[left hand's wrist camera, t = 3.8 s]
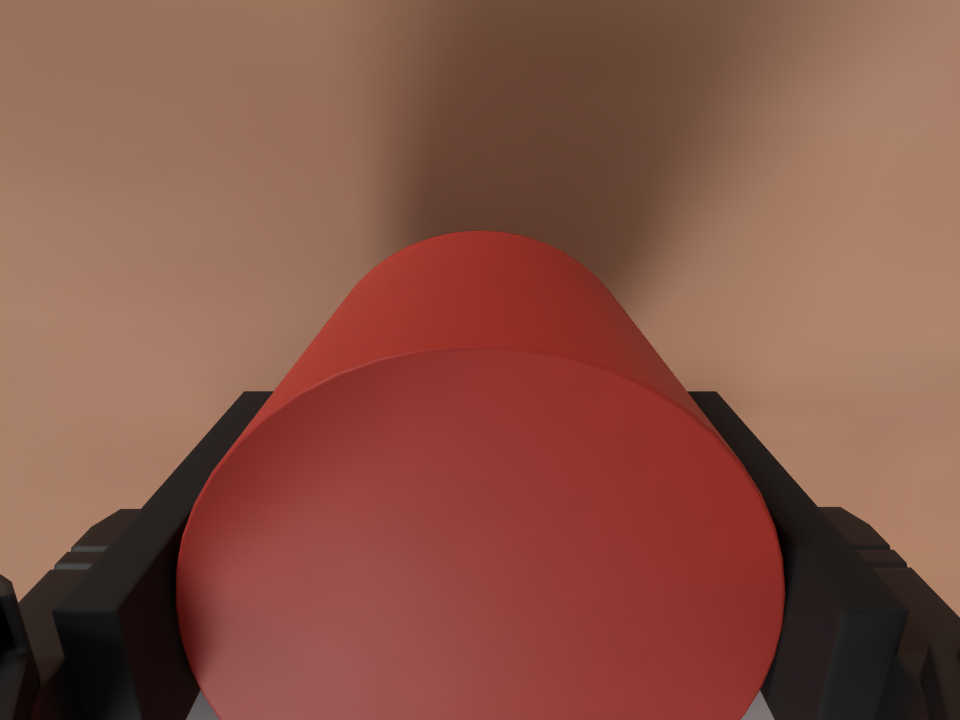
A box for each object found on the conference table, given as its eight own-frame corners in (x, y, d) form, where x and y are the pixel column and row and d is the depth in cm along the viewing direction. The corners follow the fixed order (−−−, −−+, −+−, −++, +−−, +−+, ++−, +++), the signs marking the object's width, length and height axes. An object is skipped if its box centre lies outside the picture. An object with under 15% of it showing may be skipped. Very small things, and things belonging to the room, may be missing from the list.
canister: (561, 562, 19) (622, 890, 11) (283, 470, 18) (120, 757, 10) (697, 303, 16) (912, 481, 8) (378, 176, 15) (262, 238, 7)
